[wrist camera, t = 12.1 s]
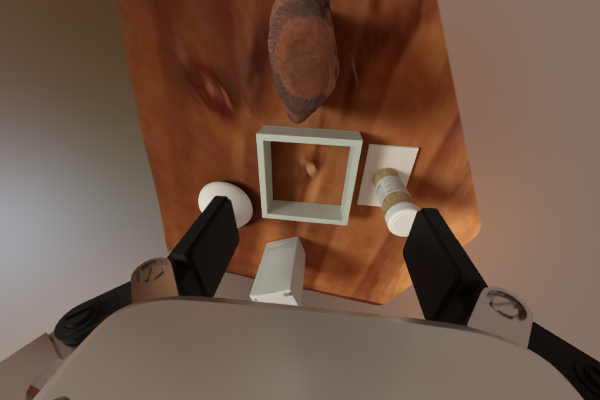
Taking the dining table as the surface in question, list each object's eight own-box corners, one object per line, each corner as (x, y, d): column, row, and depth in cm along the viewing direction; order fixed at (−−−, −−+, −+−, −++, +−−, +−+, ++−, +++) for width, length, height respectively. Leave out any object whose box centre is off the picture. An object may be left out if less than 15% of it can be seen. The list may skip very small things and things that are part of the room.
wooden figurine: (340, 97, 35) (348, 128, 20) (300, 104, 36) (278, 138, 21) (333, -2, 29) (336, -68, 14) (285, 11, 30) (239, -38, 15)
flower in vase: (230, 230, 52) (163, 345, 31) (192, 195, 48) (85, 301, 27) (271, 204, 47) (224, 322, 26) (232, 162, 43) (139, 263, 22)
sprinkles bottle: (390, 192, 42) (412, 241, 30) (367, 184, 41) (381, 232, 30) (403, 171, 39) (433, 216, 28) (379, 162, 39) (399, 205, 28)
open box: (264, 125, 38) (256, 133, 34) (359, 131, 37) (362, 140, 33) (268, 203, 47) (262, 217, 43) (345, 210, 46) (347, 225, 41)
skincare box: (276, 258, 56) (260, 316, 43) (266, 240, 53) (246, 297, 40) (308, 252, 53) (301, 312, 41) (299, 234, 50) (289, 291, 38)
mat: (368, 143, 38) (369, 144, 37) (417, 147, 37) (418, 148, 37) (357, 202, 44) (357, 204, 44) (398, 206, 44) (399, 208, 43)
